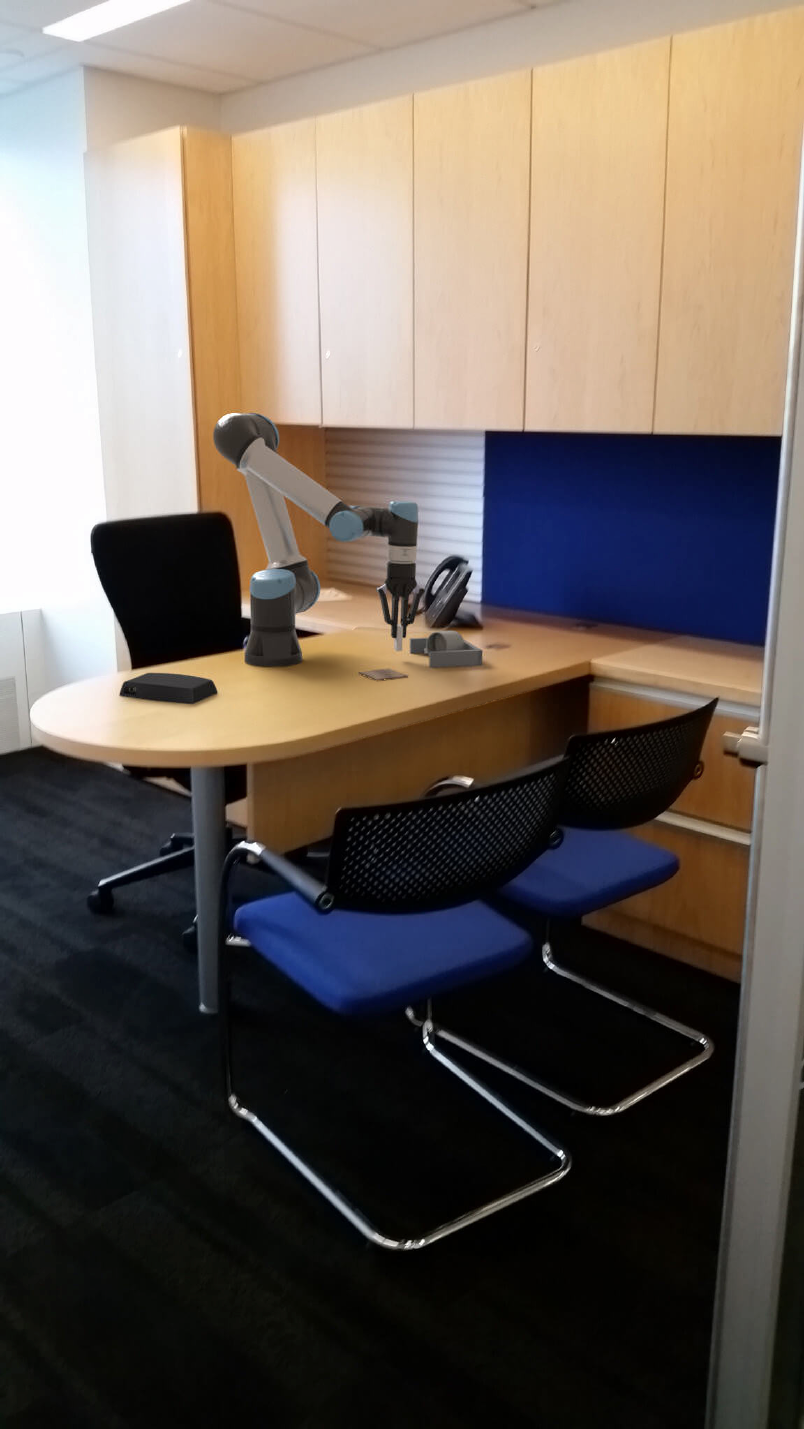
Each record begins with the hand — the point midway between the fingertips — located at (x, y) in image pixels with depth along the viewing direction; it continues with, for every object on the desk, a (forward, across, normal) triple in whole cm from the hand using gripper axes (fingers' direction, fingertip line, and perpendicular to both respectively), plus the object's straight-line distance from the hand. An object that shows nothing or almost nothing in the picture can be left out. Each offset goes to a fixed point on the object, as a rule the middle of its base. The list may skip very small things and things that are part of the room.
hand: (397, 649), depth 305 cm
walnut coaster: (+3, -8, -16) cm, 19 cm away
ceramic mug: (+3, +13, +2) cm, 13 cm away
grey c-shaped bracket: (+3, +13, 0) cm, 13 cm away
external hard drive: (+5, -62, -26) cm, 67 cm away
